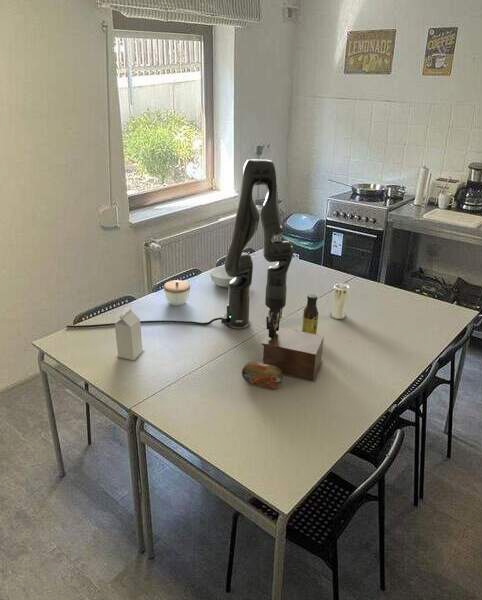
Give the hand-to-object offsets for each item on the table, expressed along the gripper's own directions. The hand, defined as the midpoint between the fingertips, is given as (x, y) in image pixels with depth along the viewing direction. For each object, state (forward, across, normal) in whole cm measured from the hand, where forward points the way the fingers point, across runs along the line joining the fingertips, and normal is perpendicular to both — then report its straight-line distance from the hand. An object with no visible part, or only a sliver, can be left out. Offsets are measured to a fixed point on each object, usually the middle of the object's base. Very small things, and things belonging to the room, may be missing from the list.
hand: (273, 333), depth 187 cm
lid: (+2, 0, +8) cm, 8 cm away
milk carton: (+13, +17, -54) cm, 58 cm away
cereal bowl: (+13, -61, -44) cm, 76 cm away
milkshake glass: (+13, -48, +17) cm, 53 cm away
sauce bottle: (+13, -23, +9) cm, 28 cm away
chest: (+12, 0, +8) cm, 15 cm away
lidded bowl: (+13, -32, -58) cm, 67 cm away
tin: (+13, +16, +1) cm, 20 cm away
